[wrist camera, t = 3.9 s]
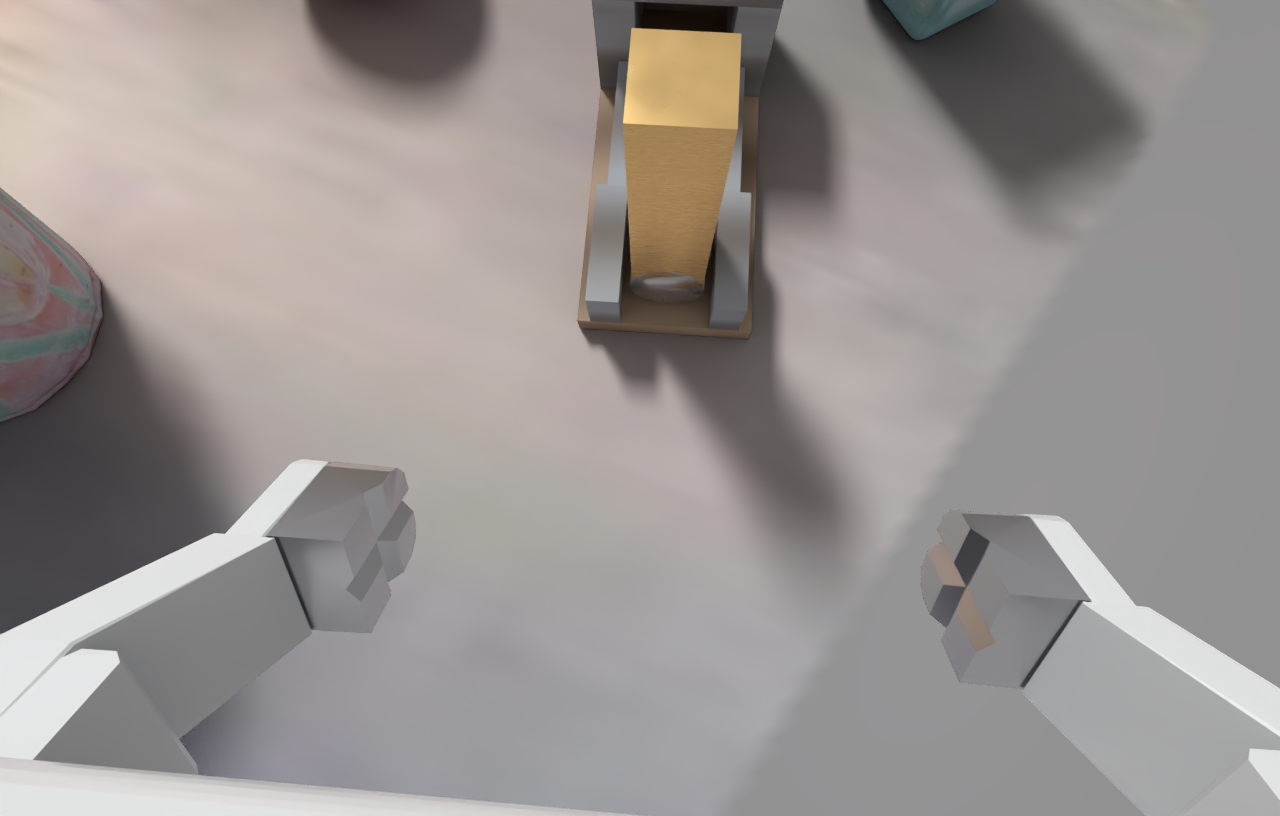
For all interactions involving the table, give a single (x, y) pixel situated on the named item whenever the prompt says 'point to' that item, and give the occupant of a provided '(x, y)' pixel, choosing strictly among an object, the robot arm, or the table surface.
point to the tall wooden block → (677, 154)
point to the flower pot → (932, 14)
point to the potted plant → (41, 310)
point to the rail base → (605, 295)
